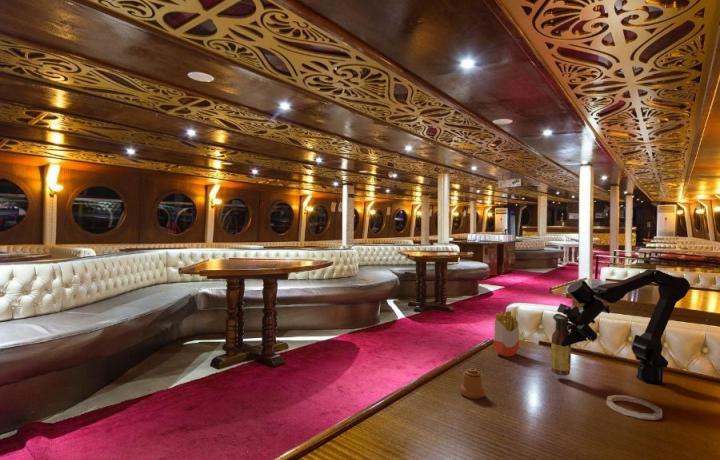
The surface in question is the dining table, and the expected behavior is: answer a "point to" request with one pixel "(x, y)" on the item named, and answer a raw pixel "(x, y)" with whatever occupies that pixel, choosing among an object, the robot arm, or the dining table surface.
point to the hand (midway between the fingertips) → (557, 343)
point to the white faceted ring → (631, 413)
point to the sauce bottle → (560, 348)
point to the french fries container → (506, 334)
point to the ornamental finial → (472, 384)
